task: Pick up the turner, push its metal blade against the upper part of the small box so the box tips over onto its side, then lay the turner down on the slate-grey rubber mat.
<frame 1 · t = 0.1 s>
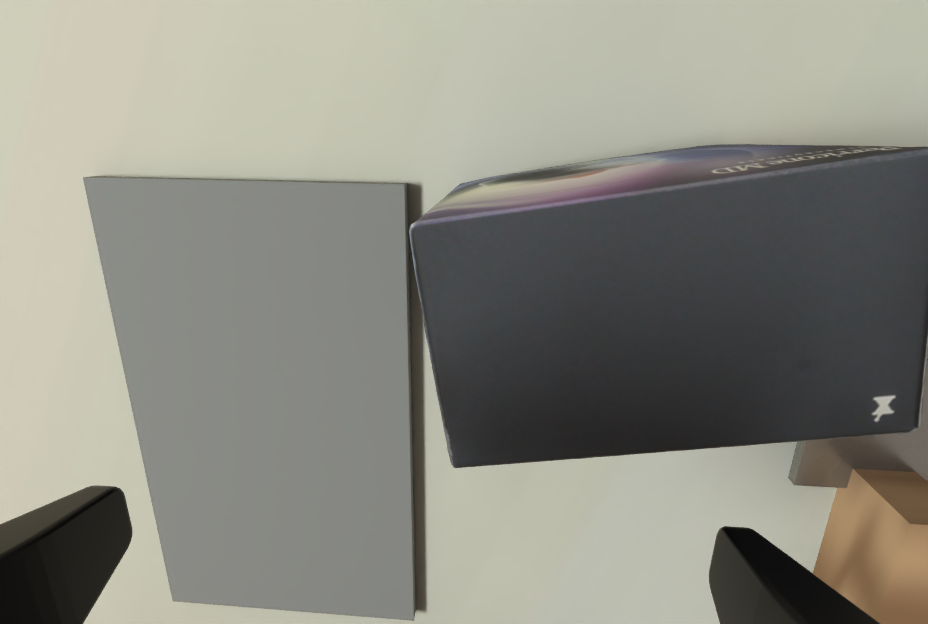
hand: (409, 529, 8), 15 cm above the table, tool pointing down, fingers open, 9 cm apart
turner: (849, 544, 24), on the table
small box: (594, 237, 21), on the table
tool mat: (274, 420, 25), on the table
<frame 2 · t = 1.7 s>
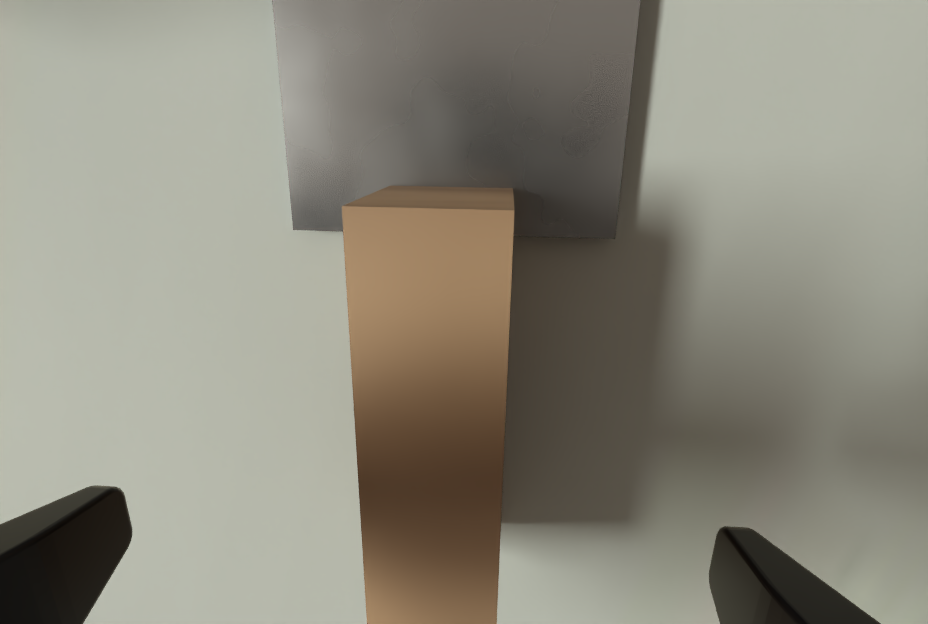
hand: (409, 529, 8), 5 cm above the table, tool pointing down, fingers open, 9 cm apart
turner: (452, 369, 13), on the table
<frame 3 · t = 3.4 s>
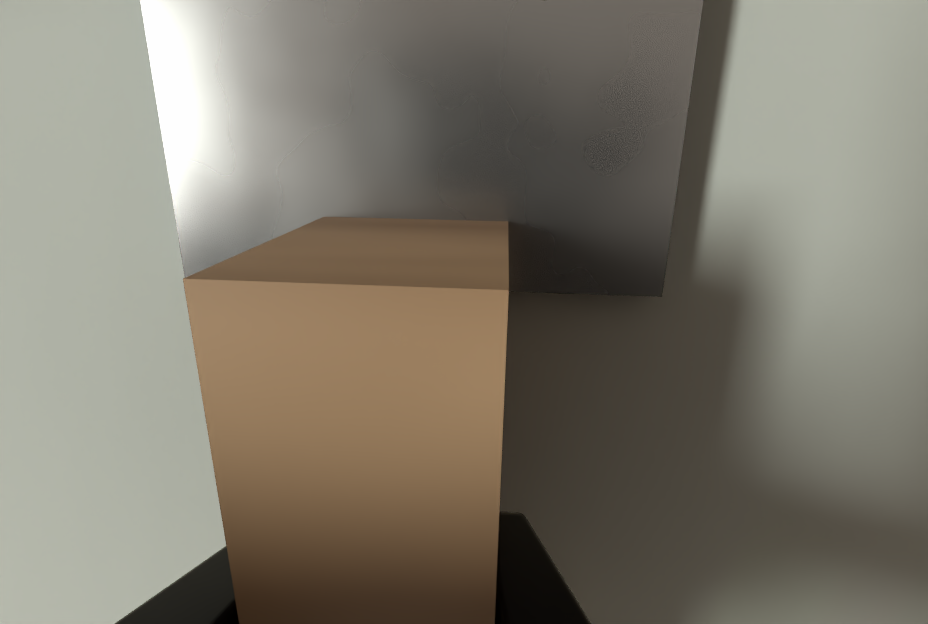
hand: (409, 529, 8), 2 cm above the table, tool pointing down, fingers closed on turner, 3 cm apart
turner: (424, 468, 9), on the table, touching gripper
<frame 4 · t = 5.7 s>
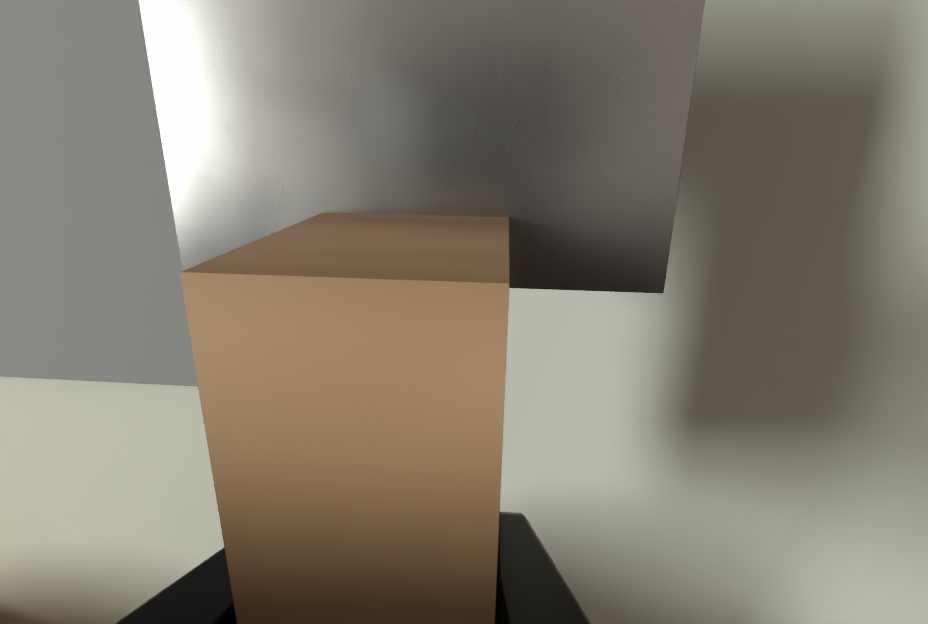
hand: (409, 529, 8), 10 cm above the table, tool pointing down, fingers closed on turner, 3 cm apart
turner: (424, 466, 9), point 9 cm above the table, touching gripper
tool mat: (0, 38, 16), on the table
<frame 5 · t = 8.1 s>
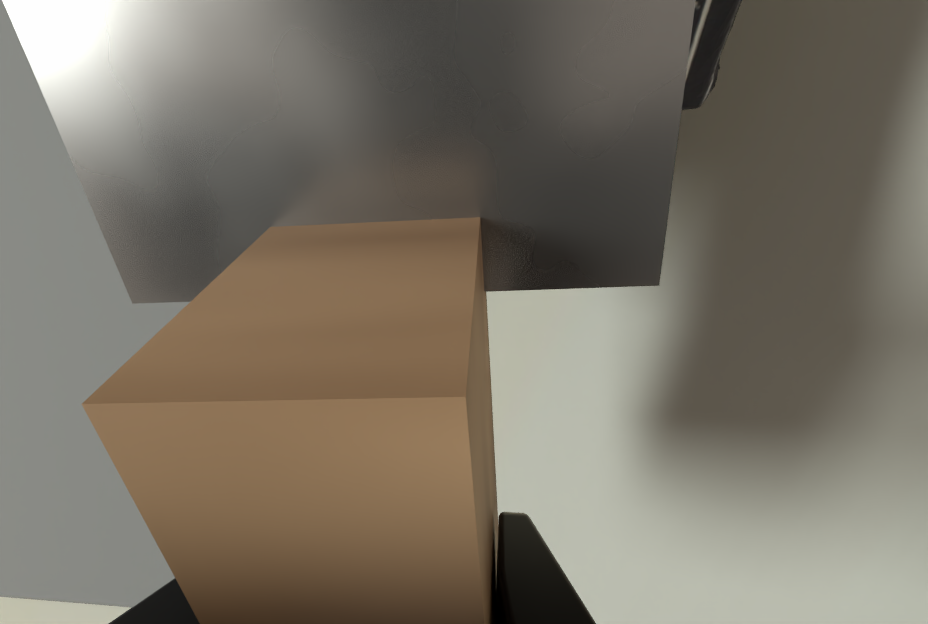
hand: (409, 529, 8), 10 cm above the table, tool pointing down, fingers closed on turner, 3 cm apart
turner: (419, 457, 9), point 8 cm above the table, tilted 11°, touching gripper
small box: (456, 44, 13), point 2 cm above the table
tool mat: (64, 350, 18), on the table
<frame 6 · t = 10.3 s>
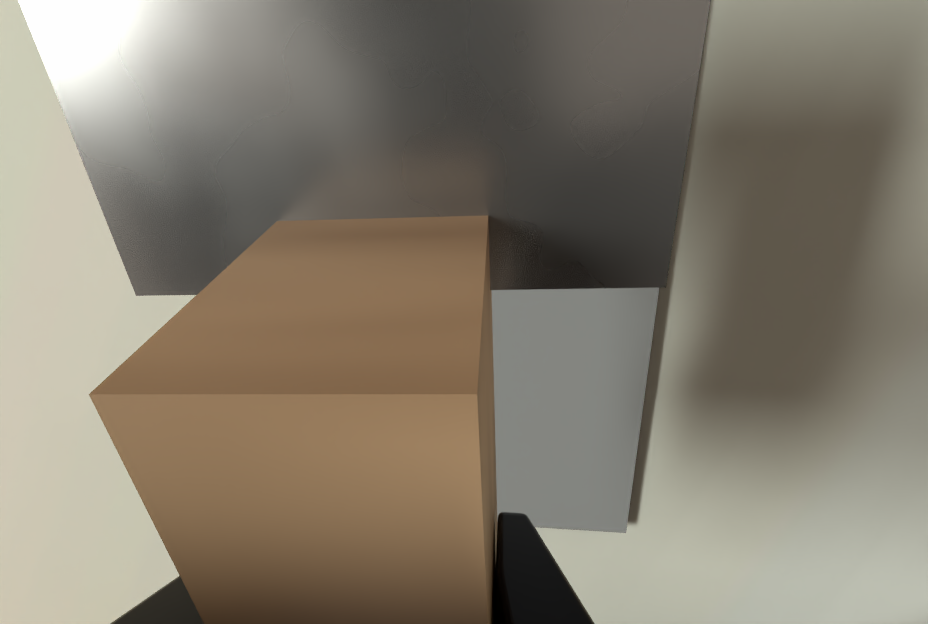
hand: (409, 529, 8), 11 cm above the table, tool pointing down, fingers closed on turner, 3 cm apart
turner: (420, 455, 9), point 10 cm above the table, tilted 11°, touching gripper
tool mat: (463, 245, 18), on the table
when the fingers open (4 cm above the table, at t = 12.2 s): turner drops 2 cm, resting on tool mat.
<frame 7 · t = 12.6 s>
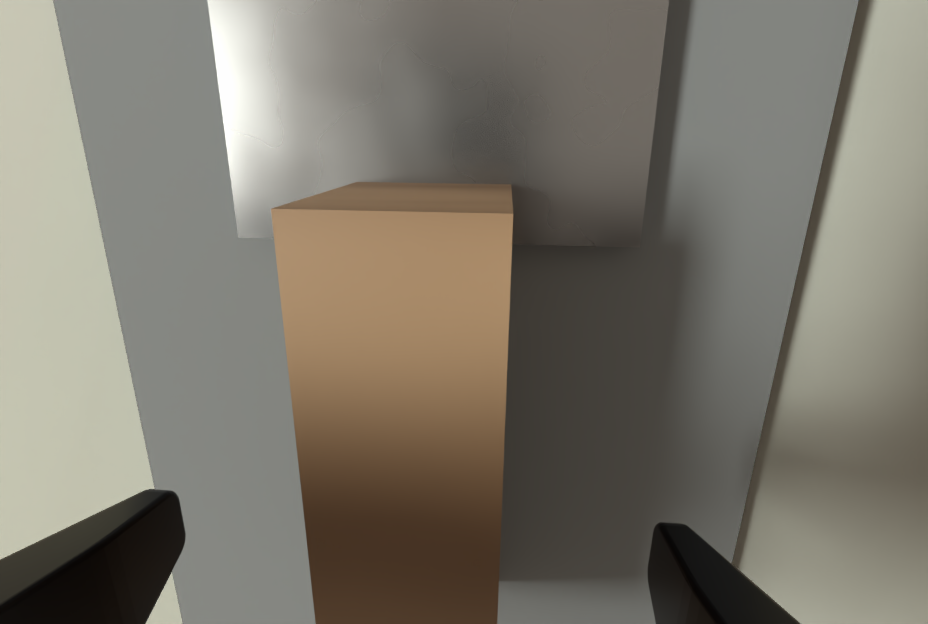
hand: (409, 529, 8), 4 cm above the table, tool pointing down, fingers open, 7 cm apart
turner: (439, 405, 11), point 1 cm above the table, touching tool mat
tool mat: (439, 318, 11), on the table
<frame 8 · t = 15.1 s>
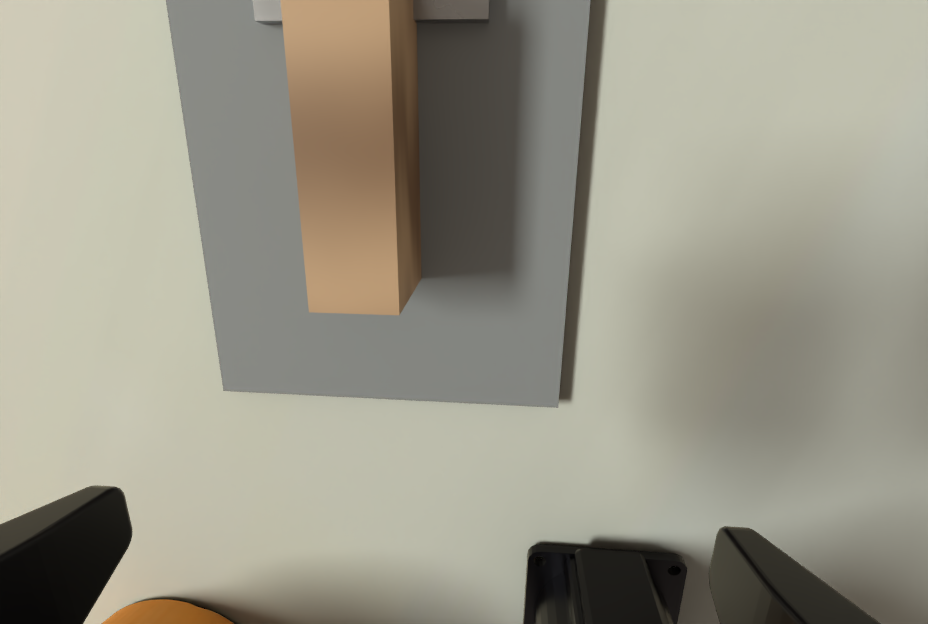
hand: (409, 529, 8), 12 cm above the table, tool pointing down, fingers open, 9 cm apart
turner: (379, 144, 17), point 1 cm above the table, touching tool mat
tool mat: (379, 89, 17), on the table
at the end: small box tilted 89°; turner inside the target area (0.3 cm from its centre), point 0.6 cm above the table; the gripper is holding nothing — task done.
